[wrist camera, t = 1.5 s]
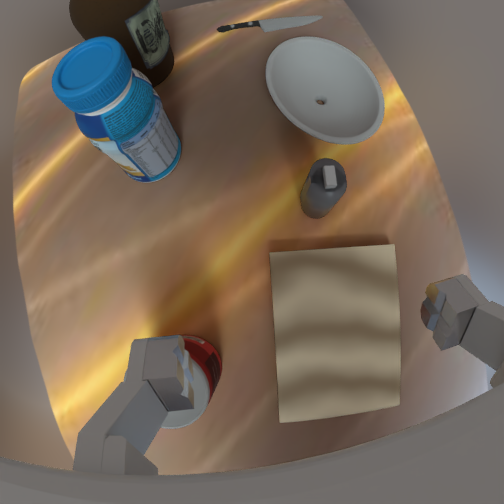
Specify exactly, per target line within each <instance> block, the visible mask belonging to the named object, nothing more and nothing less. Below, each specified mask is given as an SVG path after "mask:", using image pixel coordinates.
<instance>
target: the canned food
mask: <svg viewBox="0 0 504 504" xmlns="http://www.w3.org/2000/svg"><path fill="white" fill-rule="evenodd" d="M182 338H183V340H184V342H185V345H184V349H185V350H187V351H188V352H189V354H190V357H191V361H192V366H193V376H194V380H193V381H192V382H191V386H192V388H193V390H194V409H188V410H180V411H171V412H168V415H167V417H166V419H165V420H164V422H163V424H162V425H161V427H160V428H167V429H176V428H181V427H185V426H187V425H189V424H191V423H193V422H194V421H196V420H197V419H198V418H199V417H200V416H201V415H202V414H203V412H204V411H205V409H206V407H207V405H208V404H209V402H210V399H211V397H212V395H213V393H214V391H215V388H216V386H217V384H218V382H219V379H220V376H221V372H222V364H221V359H220V357H219V354H218V353H217V351H216V349H215V348H214V347H213V346H212V345H211V344H210V343H208V342H207V341H206V340H204V339H202V338H200V337H196V336H192V335H182ZM126 376H127V371H126V373H125V377H124V382H126Z"/></svg>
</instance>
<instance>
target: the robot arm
mask: <svg viewBox="0 0 504 504" xmlns="http://www.w3.org/2000/svg"><path fill="white" fill-rule="evenodd" d="M425 293H426V295H427V298H426V299H425V300H424V301H423V303H422V307H421V318H422V320H423V323H424V325H425V326H426V328H427V329H429V330H431V331H433V339H434V340H435V342H436V343H437V345H438V347H439V348H440V350H441V351H442V350H445V349H448V348H451V347H453V346H456V345H459V344H460V346H461V347H463V348H464V349H465V350H467V351H468V352H470V353H471V354H473V355H474V356H476V357H477V358H479V359H480V360H481V361H483V362H484V363H486V364H487V365H489V366H490V367H492V368H493V369H494V370H496V373H495V374H494V376H493V377H492V378H491V381H490V384H491V386H492V387H493V389H491V390H489V391H487V392H485V393H483V394H482V395H480V396H478V397H476V398H474V399H472V400H470V401H468V402H466V403H464V404H462V405H460V406H458V407H456V408H453V409H451V410H449V411H447V412H445V413H443V414H440V415H438V416H436V417H433V418H431V419H429V420H426V421H424V422H422V423H419V424H417V425H414V426H412V427H409V428H406V429H404V430H401V431H398V432H396V433H393V434H390V435H387V436H384V437H381V438H378V439H375V440H372V441H369V442H366V443H363V444H359V445H356V446H353V447H349V448H346V449H342V450H338V451H335V452H331V453H327V454H323V455H319V456H315V457H310V458H306V459H301V460H296V461H291V462H286V463H281V464H275V465H270V466H263V467H257V468H250V469H243V470H234V471H225V472H215V473H203V474H186V475H158V468H157V467H156V466H155V465H154V464H153V463H152V462H151V461H149V460H148V459H147V458H146V457H145V456H144V454H145V452H146V450H147V449H148V447H149V445H150V444H151V442H152V440H153V439H154V437H155V435H156V434H157V432H158V430H159V429H160V427H161V425H162V424H163V422H164V420H165V419H166V417H167V415H168V412H171V411H180V410H188V409H194V390H193V388H192V386H191V382H192V381H193V380H194V376H193V366H192V361H191V357H190V354H189V352H188V351H187V350H185V349H184V345H185V342H184V340H183V338H182V336H181V335H172V336H162V337H152V338H145V339H134V341H133V342H132V345H131V351H130V357H129V363H128V369H127V376H126V382H121V383H120V384H119V386H118V387H117V388H116V389H115V390H114V391H113V393H112V394H111V395H110V396H109V397H108V399H107V400H106V401H105V402H104V403H103V404H102V406H101V407H100V408H99V409H98V410H97V412H96V413H95V414H94V415H93V416H92V417H91V419H90V420H89V421H88V422H87V423H86V425H85V426H84V427H83V428H82V429H81V431H80V432H79V433H78V438H77V444H76V451H75V458H74V465H73V470H66V469H59V468H52V467H46V466H41V465H35V464H30V463H25V462H20V461H16V460H12V459H7V458H3V457H0V504H504V307H503V306H501V305H499V304H497V303H495V302H493V301H491V302H489V301H488V300H487V299H486V298H485V297H484V295H483V294H482V293H481V292H480V291H479V290H478V288H477V287H476V286H475V285H474V284H473V283H472V282H471V280H470V279H469V278H468V277H467V276H466V275H464V274H461V275H458V276H454V277H452V278H448V279H444V280H441V281H437V282H434V283H430V284H429V285H428V286H427V288H426V292H425Z"/></svg>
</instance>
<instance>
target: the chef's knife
mask: <svg viewBox="0 0 504 504" xmlns="http://www.w3.org/2000/svg"><path fill="white" fill-rule="evenodd" d="M321 18H322V16H301V17H287V18H276V19H267V20H259V21H251V22H245V23H239V24H233V25H226V26H221V27H219V28H218V29H217V30H218V31H219V32H226V31H229V30H232V29H238V28H244V27H253V26H259V27H261V28H262V30H263V31H264V32H268V31H274V30H279V29H285V28H290V27H297V26H302V25H307V24H310V23H313V22H315V21H317V20H319V19H321Z"/></svg>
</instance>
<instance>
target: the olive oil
mask: <svg viewBox="0 0 504 504" xmlns="http://www.w3.org/2000/svg"><path fill="white" fill-rule="evenodd" d="M69 10H70V17H71V20H72V23H73V25H74V26H75V28H76V29H77V30H78V32H79V33H80V34H81V35H82V37H83V38H84V39H85V40H89V39H92V38H95V37H102V36H106V37H111V38H114V39H115V40H117V41H118V42H119V43H120V45H122V47H123V49H124V51H125V52H126V54H127V56H128V58H129V60H130V62H131V66H132V68H134V69H136V70H138V71H140V72H141V73H142V74H144V75H145V76H146V77H147V78H148V79H149V81H150V82H151V84H152V87H154V86H156V85H158V84H159V83H161V82H162V81H163V80H164V79H165V78H166V77H167V76H168V75H169V74H170V72H171V70H172V68H173V65H174V58H173V54H172V51H171V47H170V44H169V42H170V41H169V34H168V31H167V30H166V29H165V26H164V23H163V19H162V15H161V12H160V8H159V4H158V0H70V5H69Z"/></svg>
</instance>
